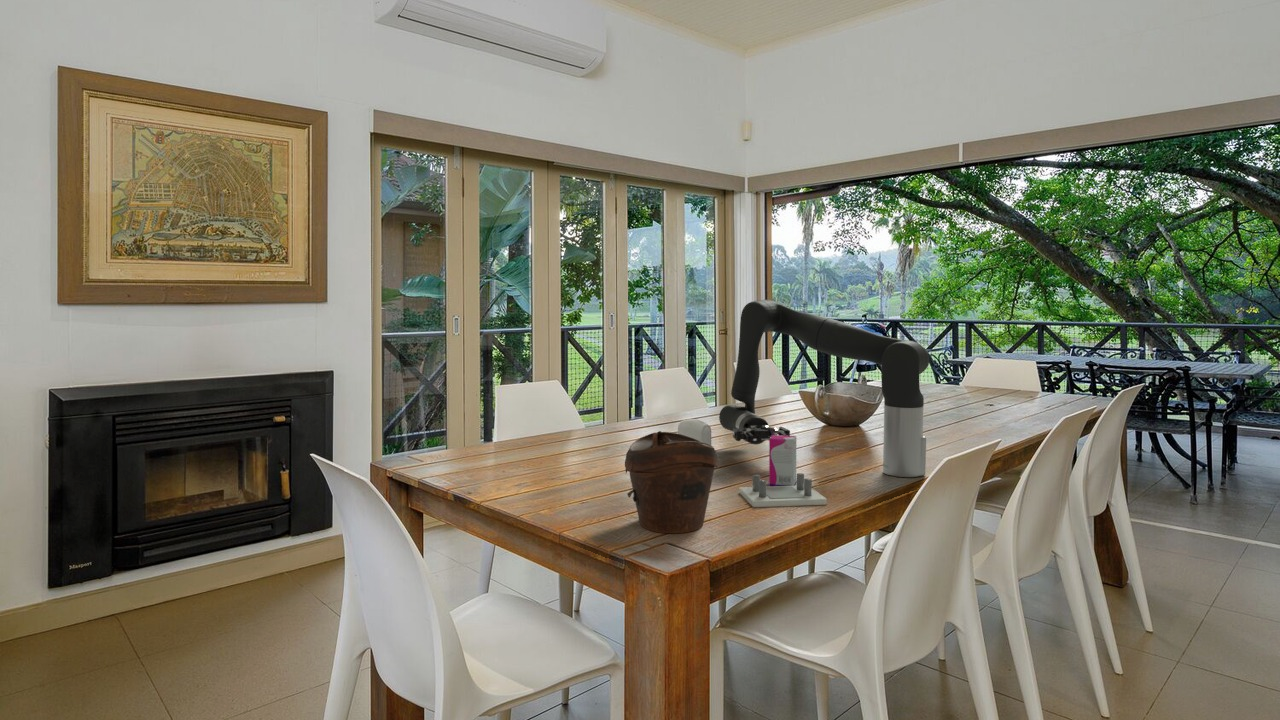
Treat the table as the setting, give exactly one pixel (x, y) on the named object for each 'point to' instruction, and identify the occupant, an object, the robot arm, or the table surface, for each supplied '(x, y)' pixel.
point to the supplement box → (782, 460)
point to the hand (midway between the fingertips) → (768, 439)
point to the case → (670, 481)
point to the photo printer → (695, 430)
